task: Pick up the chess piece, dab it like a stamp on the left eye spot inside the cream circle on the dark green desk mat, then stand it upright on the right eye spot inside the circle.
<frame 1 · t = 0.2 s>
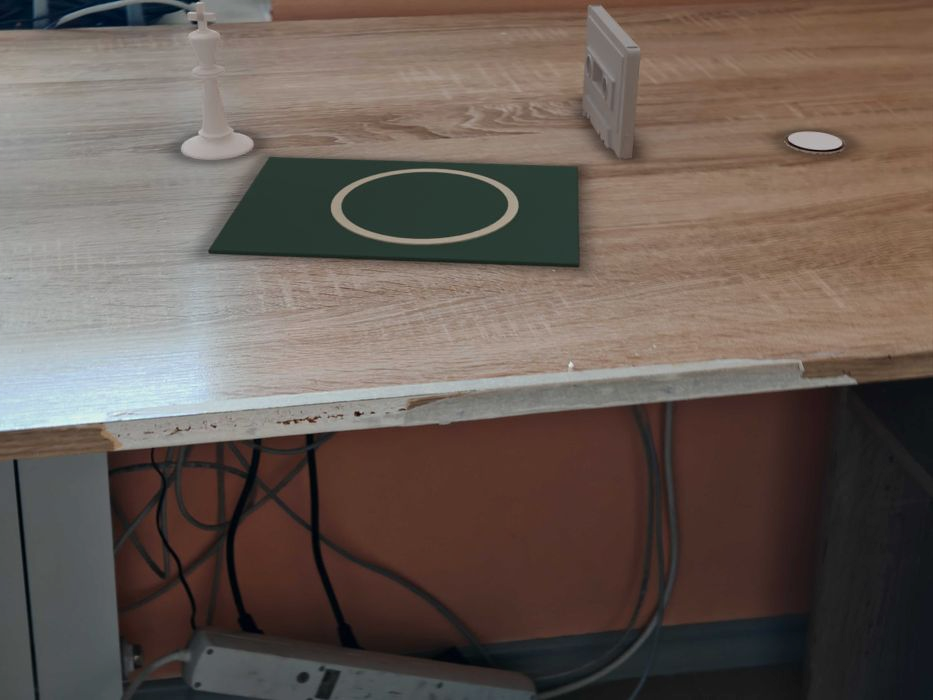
cassette: (604, 138, 76), on the table
chess piece: (219, 157, 73), on the table
white rimmed disc: (813, 152, 73), on the table
desk mat: (408, 216, 64), on the table
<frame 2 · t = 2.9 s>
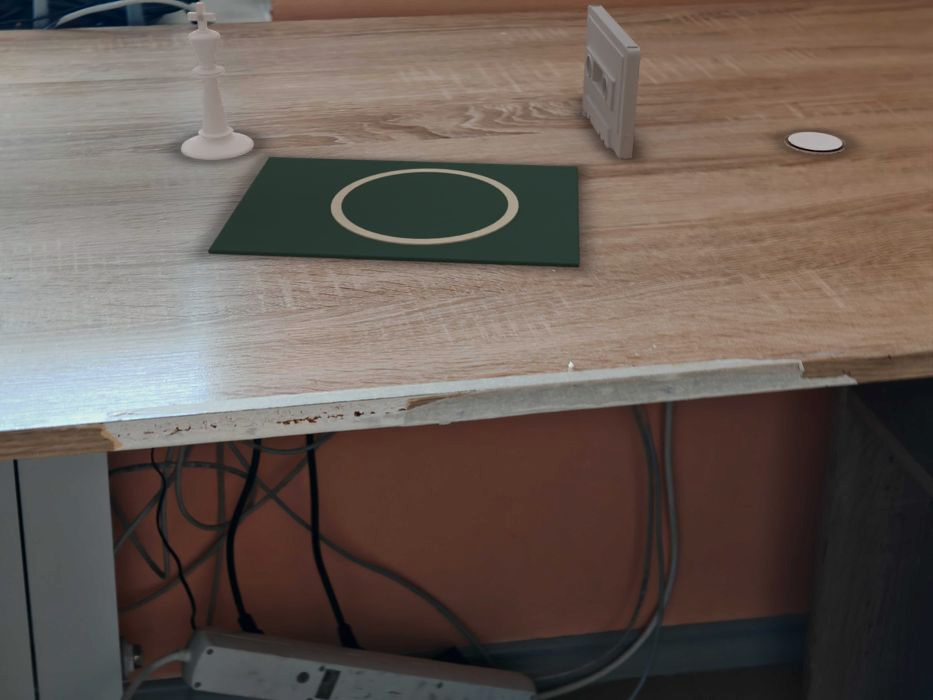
nothing on the table moved.
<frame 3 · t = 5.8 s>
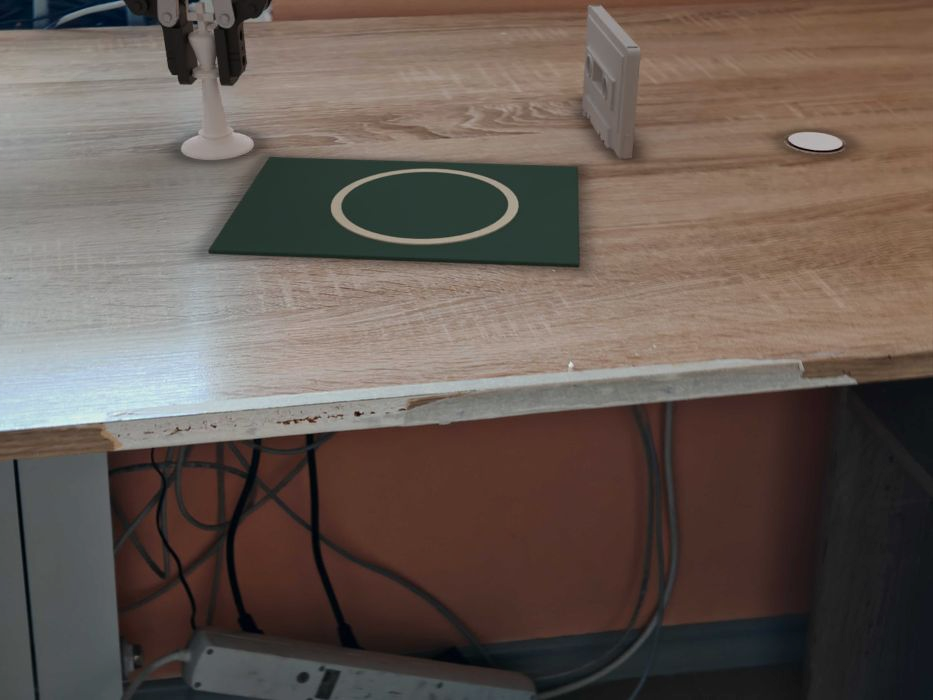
hand: (210, 80, 70), 5 cm above the table, tool pointing down, fingers closed on chess piece
chess piece: (219, 157, 73), on the table, touching gripper
everything else where it was.
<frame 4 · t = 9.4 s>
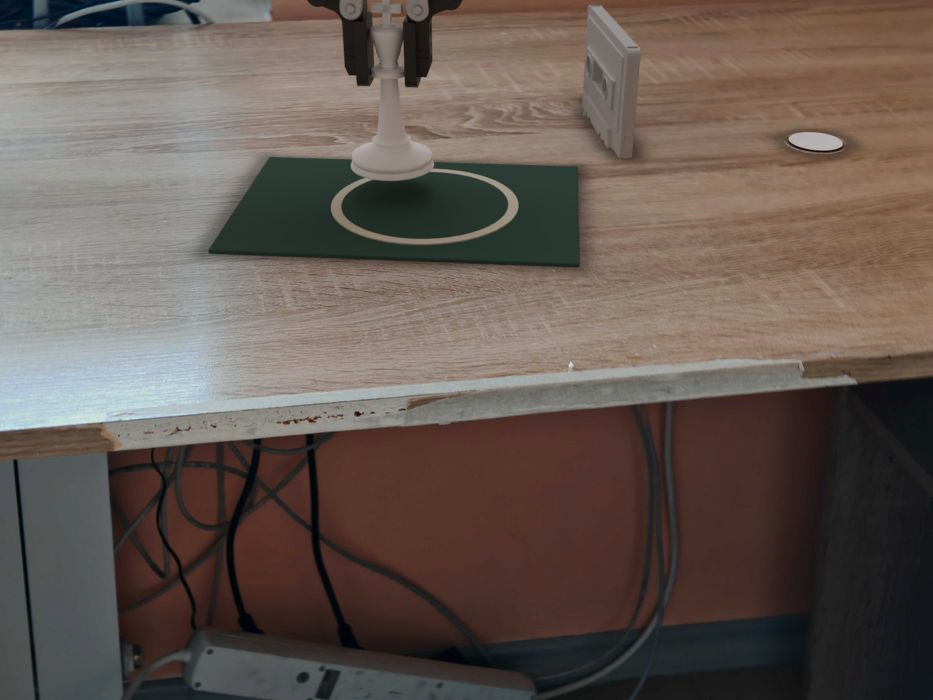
hand: (390, 81, 61), 8 cm above the table, tool pointing down, fingers closed on chess piece
chess piece: (392, 168, 64), point 2 cm above the table, touching gripper
everything else where it was.
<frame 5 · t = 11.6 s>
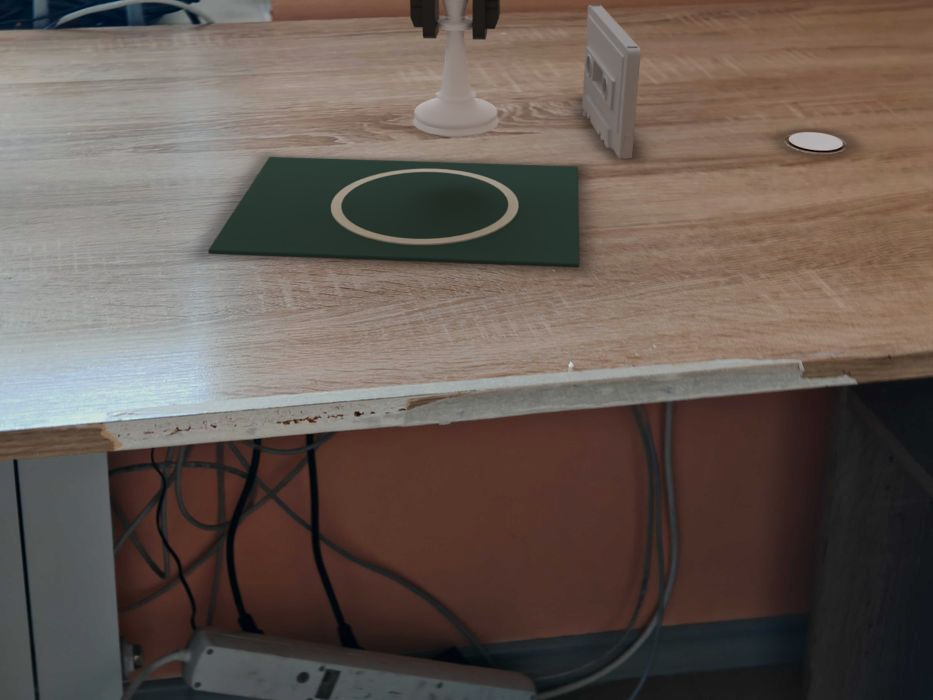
hand: (456, 34, 60), 10 cm above the table, tool pointing down, fingers closed on chess piece
chess piece: (455, 125, 62), point 5 cm above the table, touching gripper
everything else where it was.
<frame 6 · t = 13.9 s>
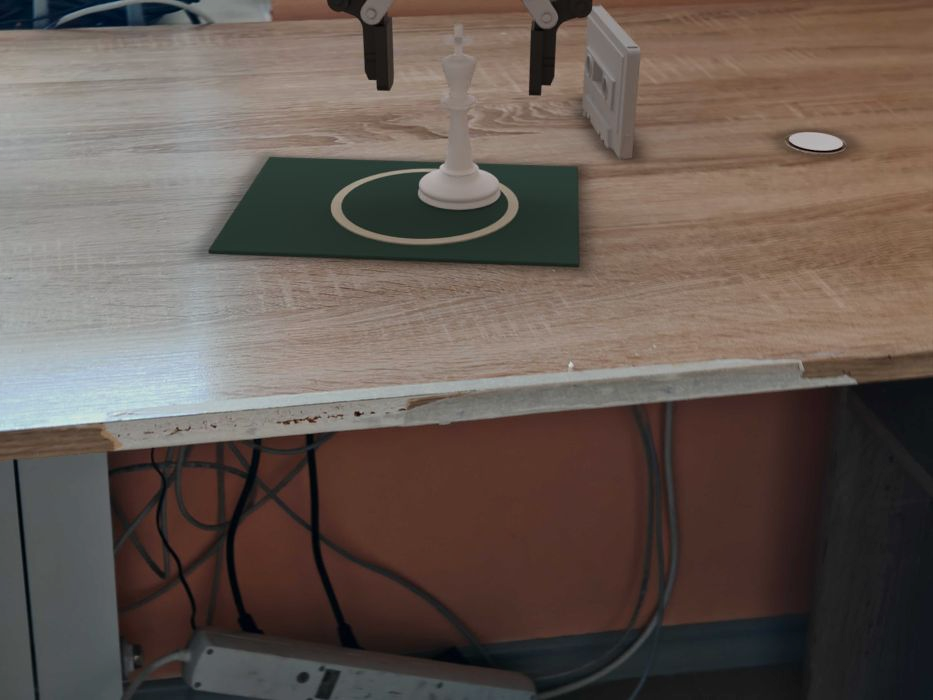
hand: (460, 89, 61), 7 cm above the table, tool pointing down, fingers open, 8 cm apart
chess piece: (459, 197, 65), point 1 cm above the table, touching desk mat
everything else where it was.
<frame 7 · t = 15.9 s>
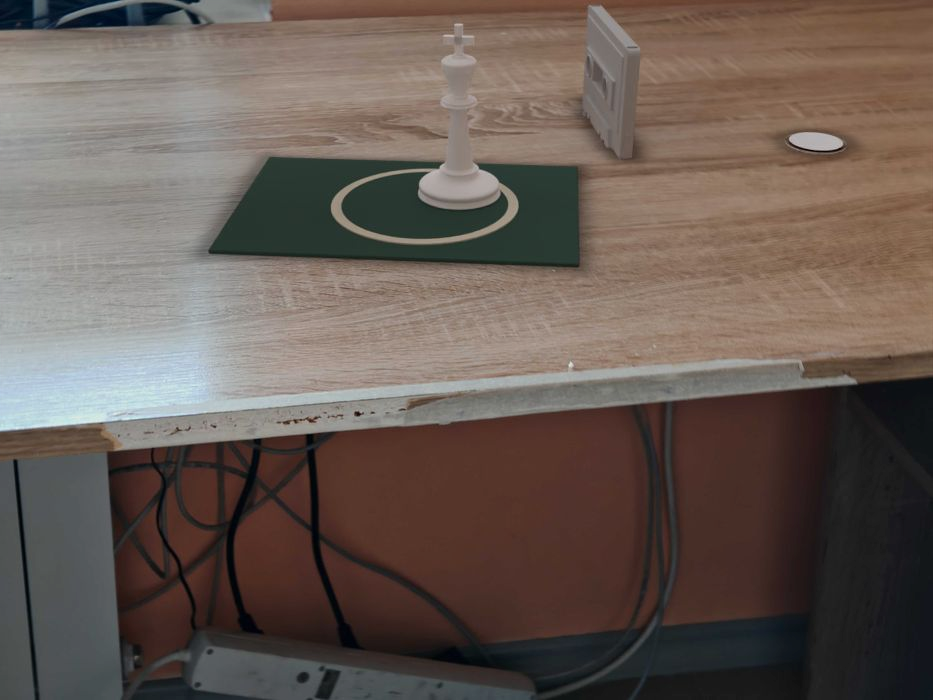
nothing on the table moved.
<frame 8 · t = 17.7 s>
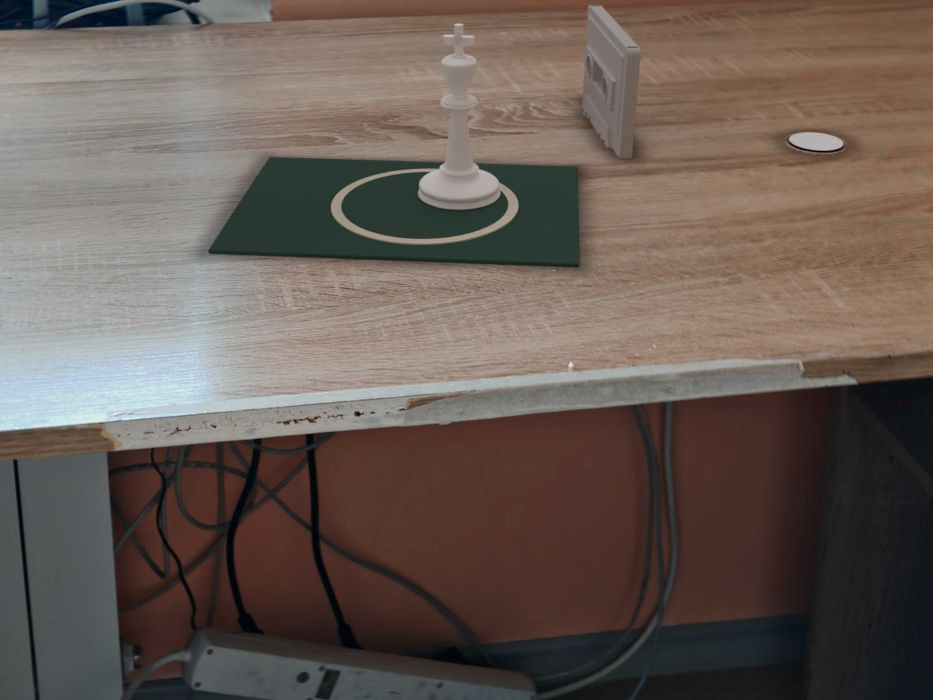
nothing on the table moved.
at the end: chess piece 0.1 cm from the target spot, point 0.7 cm above the table; chess piece tilted 0°; the gripper is holding nothing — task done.
